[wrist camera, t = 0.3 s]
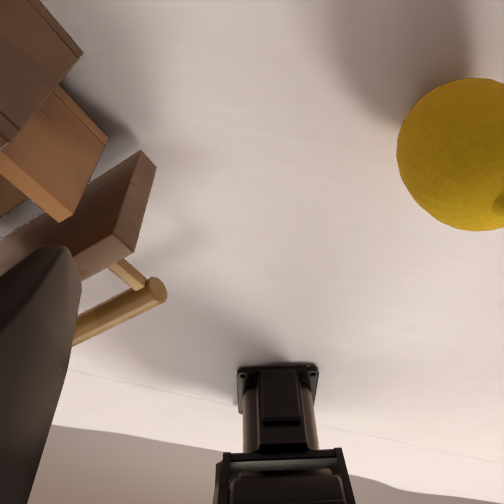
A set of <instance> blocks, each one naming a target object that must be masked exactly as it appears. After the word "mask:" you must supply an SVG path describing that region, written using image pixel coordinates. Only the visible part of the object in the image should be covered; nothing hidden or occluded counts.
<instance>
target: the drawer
mask: <svg viewBox="0 0 504 504" xmlns="http://www.w3.org/2000/svg"><path fill="white" fill-rule="evenodd" d="M107 141H108V137H107V136H106V135H105V134H104V133H103V132H102V131H101V130H100V128H99V127H98V126H97V125H96V124H95V123H94V122H93V121H92V120H91V119H90V118H89V117H88V116H87V115H86V113H85V112H84V111H83V110H82V109H81V108H80V107H79V106H78V105H77V104H76V103H75V102H74V101H73V100H72V98H71V97H70V96H69V95H68V94H67V93H66V92H65V91H64V90H63V89H62V88H61V87H60V86H59V85H57V87H56V88H55V89H54V90H53V92H52V93H51V94H50V95H49V97H48V98H47V99H46V100H45V101H44V103H43V104H42V105H41V106H40V108H39V109H38V110H37V111H36V113H35V114H34V115H33V116H32V118H31V119H30V120H29V121H28V123H27V124H26V125H25V126H24V127H23V129H22V130H21V131H20V132H19V134H18V135H17V136H16V137H15V139H14V140H13V141H12V142H11V144H9V145H8V146H7V147H5V148H4V149H3V150H1V151H0V217H2V216H3V215H5V214H6V213H8V212H9V211H10V210H12V209H13V208H15V207H16V206H18V205H19V204H21V203H22V202H24V201H25V200H27V199H28V198H30V199H31V200H32V201H33V202H34V203H36V204H37V205H38V206H39V207H40V208H42V209H43V210H44V211H45V212H44V213H43V214H41V215H40V216H38V217H37V218H35V219H33V220H32V221H30V222H29V223H27V224H26V225H24V226H23V227H21V228H20V229H18V230H17V231H15V232H13V233H12V234H10V235H9V236H7V237H6V238H4V239H3V240H1V241H0V276H1V275H3V274H4V273H5V272H7V271H8V270H9V269H11V268H12V267H13V266H15V265H16V264H17V263H19V262H20V261H22V260H23V259H24V258H26V257H27V256H28V255H30V254H31V253H32V252H34V251H35V250H36V249H38V248H40V247H42V246H65V247H67V248H68V249H69V251H70V253H71V255H72V258H73V261H74V263H75V266H76V269H77V271H78V274H79V277H80V280H81V281H83V280H85V279H87V278H89V277H90V276H92V275H94V274H96V273H98V272H99V271H101V270H103V269H105V268H109V269H110V270H111V271H112V272H113V273H115V274H116V275H117V276H118V277H119V278H121V279H122V280H123V281H124V282H125V283H127V284H128V285H129V286H130V287H131V288H130V289H128V290H126V291H124V292H122V293H120V294H118V295H116V296H114V297H112V298H110V299H108V300H106V301H104V302H102V303H100V304H99V305H97V306H95V307H93V308H91V309H89V310H87V311H85V312H83V313H81V314H79V315H77V320H76V325H75V331H74V337H73V342H72V347H73V346H75V345H77V344H79V343H81V342H83V341H86V340H88V339H90V338H92V337H94V336H96V335H98V334H100V333H102V332H104V331H106V330H108V329H110V328H112V327H114V326H117V325H119V324H121V323H123V322H125V321H127V320H129V319H131V318H133V317H135V316H137V315H139V314H141V313H143V312H145V311H148V310H150V309H152V308H154V307H156V306H158V305H160V304H162V303H164V302H165V301H166V299H167V290H166V288H165V286H164V284H163V282H162V281H161V280H160V279H158V278H156V277H151V278H149V279H147V280H146V278H145V277H144V276H143V275H142V274H141V273H140V272H139V271H137V270H136V269H135V268H134V267H133V266H132V265H131V264H129V263H128V262H127V261H126V260H125V259H124V258H125V257H127V256H129V255H130V254H132V253H134V251H135V247H136V244H137V240H138V236H139V232H140V229H141V225H142V221H143V217H144V213H145V210H146V206H147V202H148V198H149V195H150V191H151V187H152V183H153V179H154V176H155V172H156V166H155V165H154V164H153V163H152V161H151V160H150V159H149V158H148V157H147V156H146V155H145V154H144V153H143V151H142V150H140V151H138V152H136V153H135V154H133V155H132V156H130V157H129V158H127V159H126V160H124V161H123V162H121V163H120V164H118V165H116V166H115V167H113V168H112V169H110V170H109V171H107V172H106V173H104V174H103V175H101V176H100V177H98V178H96V179H95V180H93V181H92V182H90V183H89V184H88V182H89V179H90V177H91V175H92V173H93V171H94V169H95V167H96V164H97V162H98V160H99V158H100V156H101V154H102V152H103V149H104V147H105V145H106V143H107Z"/></svg>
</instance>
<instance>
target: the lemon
mask: <svg viewBox="0 0 504 504" xmlns="http://www.w3.org/2000/svg"><path fill="white" fill-rule="evenodd" d="M396 156H397V162H398V166H399V171H400V175H401V178H402V180H403V182H404V184H405V186H406V187H407V189H408V191H409V192H410V194H411V195H412V197H413V198H414V200H415V201H416V202H417V203H418V204H419V205H420V206H421V207H422V208H423V209H425V210H426V211H427V212H428V213H429V214H431V215H432V216H433V217H434V218H436V219H437V220H439V221H440V222H442V223H444V224H447V225H449V226H452V227H454V228H457V229H461V230H469V231H487V230H494V229H498V228H502V227H504V84H503V83H500V82H497V81H494V80H491V79H481V78H465V79H460V80H455V81H451V82H448V83H446V84H444V85H442V86H439V87H437V88H435V89H433V90H432V91H430V92H429V93H428V94H426V95H425V96H423V97H422V98H421V99H420V100H419V101H418V102H417V103H416V104H415V105H414V106H413V107H412V109H411V110H410V112H409V113H408V115H407V116H406V118H405V120H404V121H403V124H402V126H401V129H400V132H399V135H398V141H397V154H396Z"/></svg>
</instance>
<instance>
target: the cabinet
mask: <svg viewBox="0 0 504 504" xmlns="http://www.w3.org/2000/svg"><path fill="white" fill-rule="evenodd" d="M82 55H83V52H82V51H81V49H80V48H79V47H78V46H77V45H76V43H75V42H74V41H73V40H72V39H71V38H70V36H69V35H68V34H67V33H66V32H65V31H64V29H63V28H62V27H61V26H60V25H59V24H58V22H57V21H56V20H55V19H54V18H53V17H52V15H51V14H50V13H49V12H48V11H47V10H46V8H45V7H44V6H43V5H42V4H41V3H40V1H39V0H0V151H1V150H3V149H4V148H5V147H7V146H8V145H9V144H11V142H12V141H13V140H14V139H15V137H16V136H17V135H18V134H19V132H20V131H21V130H22V129H23V127H24V126H25V125H26V124H27V123H28V121H29V120H30V119H31V118H32V116H33V115H34V114H35V113H36V111H37V110H38V109H39V108H40V106H41V105H42V104H43V103H44V101H45V100H46V99H47V98H48V97H49V95H50V94H51V93H52V92H53V90H54V89H55V88H56V87H57V85H58V84H59V83H60V82H61V80H62V79H63V78H64V77H65V76H66V74H67V73H68V72H69V71H70V69H71V68H72V67H73V66H74V64H75V63H76V62H77V60H79V58H80V57H81V56H82Z"/></svg>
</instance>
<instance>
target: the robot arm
mask: <svg viewBox="0 0 504 504" xmlns="http://www.w3.org/2000/svg"><path fill="white" fill-rule="evenodd" d="M80 297H81V280H80V277H79V274H78V271H77V269H76V266H75V263H74V261H73V258H72V255H71V253H70V251H69V249H68V248H67V247H65V246H42V247H40V248H38V249H36V250H35V251H34V252H32V253H31V254H30V255H28V256H27V257H26V258H24V259H23V260H22V261H20V262H19V263H17V264H16V265H15V266H13V267H12V268H11V269H9V270H8V271H7V272H5V273H4V274H3V275H1V276H0V504H27V502H28V499H29V495H30V492H31V489H32V485H33V482H34V479H35V476H36V472H37V469H38V466H39V462H40V459H41V456H42V453H43V449H44V446H45V443H46V439H47V436H48V433H49V430H50V427H51V423H52V420H53V417H54V413H55V410H56V407H57V404H58V400H59V397H60V394H61V390H62V387H63V384H64V380H65V377H66V373H67V369H68V364H69V359H70V354H71V348H72V342H73V337H74V331H75V325H76V320H77V314H78V308H79V303H80ZM318 377H319V371H318V368H317V367H314V366H309V367H269V368H240V369H238V370H237V391H238V410H239V413H240V414H243V453H231V452H223V460H222V461H221V462H219V463H217V464H216V477H215V478H216V479H215V491H214V499H213V504H355V499H354V495H353V491H352V487H351V483H350V479H349V475H348V471H347V468H346V464H345V460H344V456H343V452H342V448H334V449H326V450H319V443H318V436H317V429H316V422H315V415H314V408H313V407H314V401H315V395H316V389H317V383H318Z"/></svg>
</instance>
